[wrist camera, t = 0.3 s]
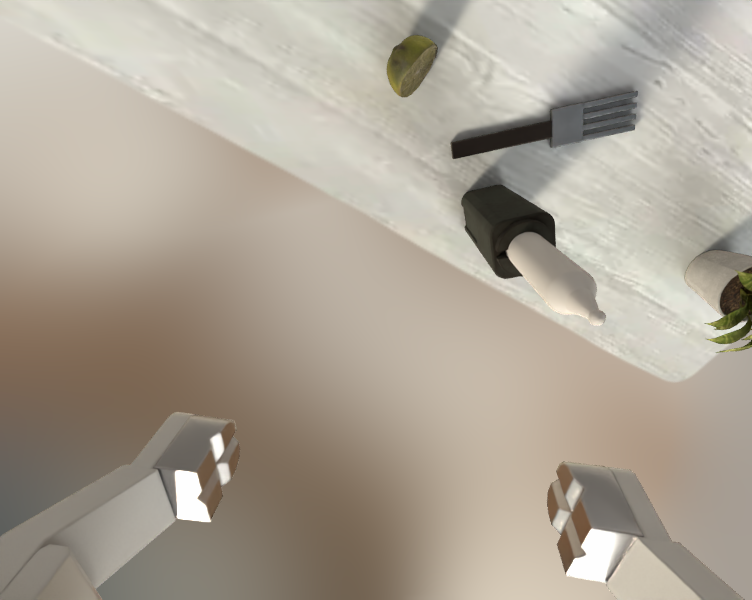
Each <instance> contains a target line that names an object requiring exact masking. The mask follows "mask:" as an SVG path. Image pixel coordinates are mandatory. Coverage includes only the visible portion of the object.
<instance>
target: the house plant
mask: <svg viewBox="0 0 752 600" xmlns="http://www.w3.org/2000/svg"><path fill="white" fill-rule="evenodd" d="M685 280H686V283H687V285H688V286H689V287H690V288H691V289H692V290H693V291H695V292H696V293H697V294H698V295H699V296H700V297H701V298H702V299H703V300H705V301H706V302H707V303H708V304H709V305H710V306H711V307H712V308H713V309H715V310H716V311H717V312H718V313H719V314H720V315H721V316H722V317H723V318H721V319H720V320H718V321H715V322H712V323H704V324H708V325H712V326H714V327H716V329H714V330H725V329H730V328H732V327H734V326H736V325H737V324H738V323H740V322H747V323H746V325H745V326H743V327H742V328H741V329H739V330H736V331H734V332H731V333H728V334H725V335H722V336H719V337H717V338H713V339H707V340H710V341H713V342H716V343H718V344H730V343H733V342H736V341H738V340H739V339H741V338H743V337H744V336H746V334H747V333H748V332H749V331H750V330H752V329H751V327H752V256H748V255H743V254H738V253H733V252H728V251H723V250H711V251H708V252H705V253H703V254H701V255H699V256H698V257H697V258H695V259H694V260H693V261H692V262H691V264H690V265H689V266H688V268H687V270H686V274H685ZM750 339H752V335H750V336H748V337H746V338H745V339H743V340H750ZM750 347H752V340H751V342H749V343H748V344H747V345H745V346H744V347H741V348H735V349H730V350H725V351H720V352H728V351H740V350H745V349H748V348H750ZM716 353H719V352H716Z"/></svg>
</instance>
